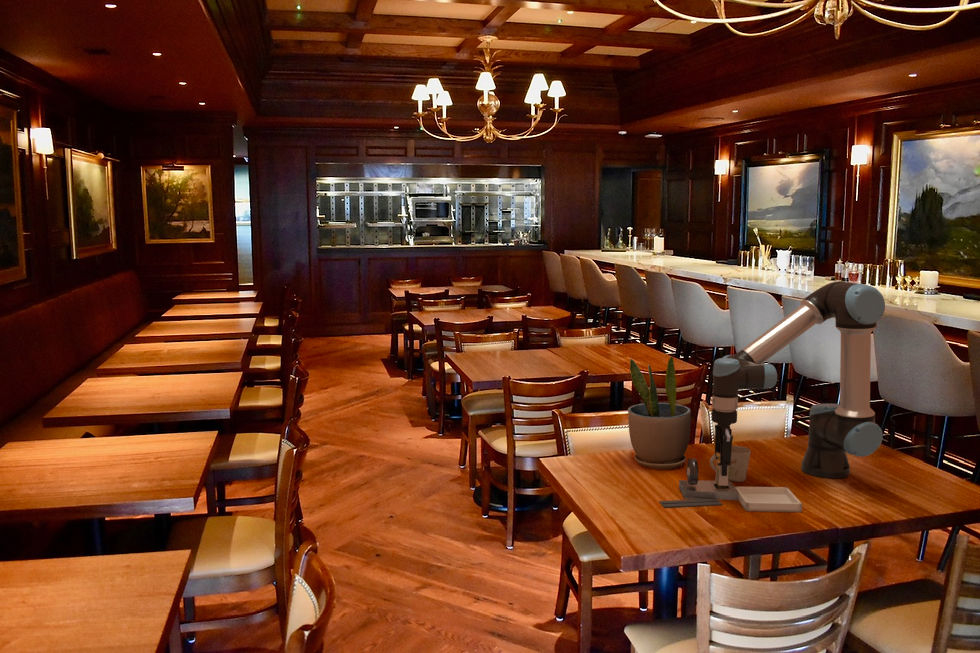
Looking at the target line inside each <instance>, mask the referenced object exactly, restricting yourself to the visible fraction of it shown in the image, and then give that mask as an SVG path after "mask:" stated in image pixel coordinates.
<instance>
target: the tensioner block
mask: <svg viewBox="0 0 980 653" xmlns="http://www.w3.org/2000/svg"><path fill="white" fill-rule="evenodd" d="M685 470H686V479H683V480H682V479H678V480H679V484H678V486H679V487H678V488H679V490H680V493H681V494H682V496H683V498H684V500H695V499H718V500H719V501H720V500H721V501H722V500H723V501H724V500H725V501H726V500H727V501H739V500H738V494H739V492H738V491H737V489H736V488H735V487H736V486H735V485H734V484H733V481H730V480H728V486H727V489H717V488H716V481H715V480H699V473H700V472H699V464H698V460H697V458H688V459H687V460H686V469H685Z"/></svg>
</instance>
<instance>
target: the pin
mask: <svg viewBox="0 0 980 653" xmlns="http://www.w3.org/2000/svg"><path fill="white" fill-rule="evenodd" d="M716 457H717V460H716V461H717V476H716V475H715V480H716V488H717V489H727V486H719V485H718V478H719V465H718V463H720V452H716Z"/></svg>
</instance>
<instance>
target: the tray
mask: <svg viewBox="0 0 980 653" xmlns="http://www.w3.org/2000/svg"><path fill="white" fill-rule="evenodd" d="M735 488H736V489H737V491H738V492H739V494H738V500H737V501H738V502H739V503H740V504H741V506H742V507H743V509H744V510H745V511H746V512H768V513H769V512H776V513H777V512H778V513H779V512H780V513H802V512H803V503H802V502H801V501H800V500H799V499H798V498H797V497H796V495H795V494H794V493H793V492H792V491H791V490H790V488H789V487H786V486H785V487H784V486H783V487H782V486H781V487H780V486H778V487H777V486H735Z"/></svg>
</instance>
